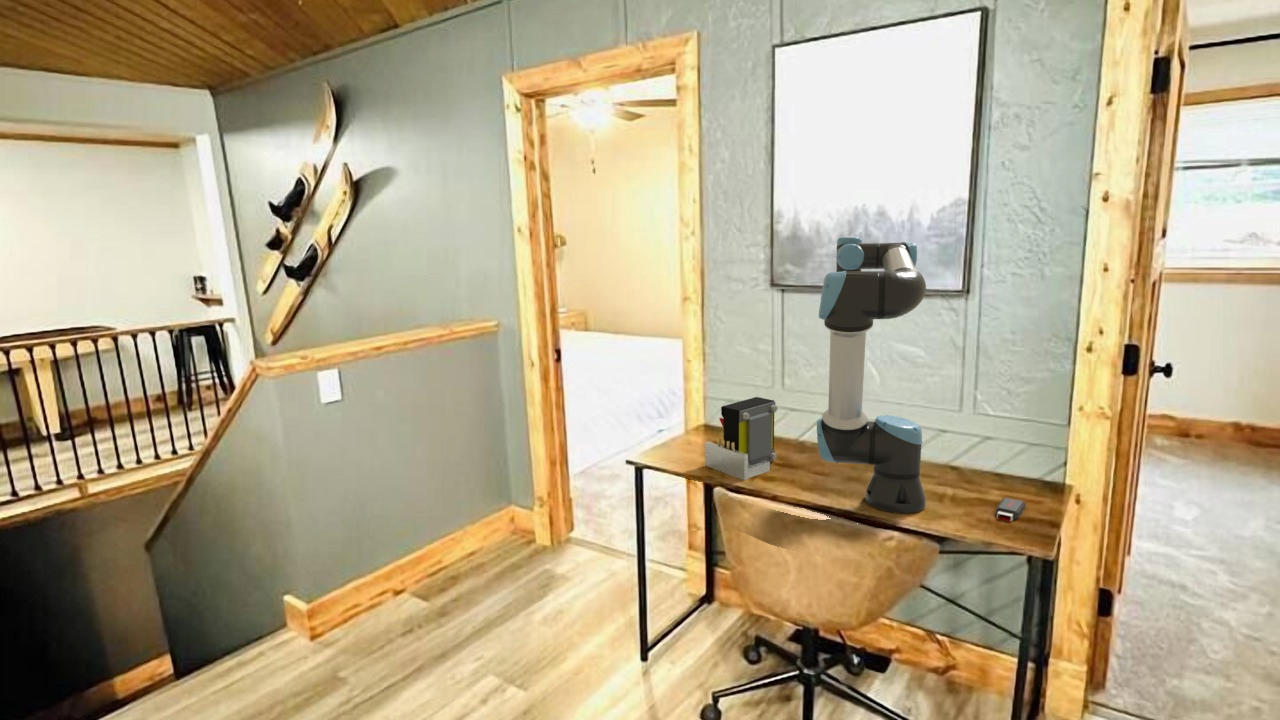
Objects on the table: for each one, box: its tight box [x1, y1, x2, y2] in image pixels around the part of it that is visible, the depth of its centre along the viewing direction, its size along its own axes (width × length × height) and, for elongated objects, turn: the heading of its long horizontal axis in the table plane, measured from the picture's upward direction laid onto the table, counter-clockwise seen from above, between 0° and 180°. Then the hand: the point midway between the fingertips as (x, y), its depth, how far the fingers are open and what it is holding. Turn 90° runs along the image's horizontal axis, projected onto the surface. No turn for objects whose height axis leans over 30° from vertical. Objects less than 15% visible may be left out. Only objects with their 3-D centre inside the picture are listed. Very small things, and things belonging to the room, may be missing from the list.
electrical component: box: [719, 396, 778, 466], centre depth 209 cm, size 18×10×20 cm, turn 131°
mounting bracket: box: [704, 437, 771, 481], centre depth 205 cm, size 17×12×10 cm
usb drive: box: [995, 497, 1026, 522], centre depth 169 cm, size 5×12×3 cm, turn 140°
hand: (845, 360), depth 209 cm, fingers closed
